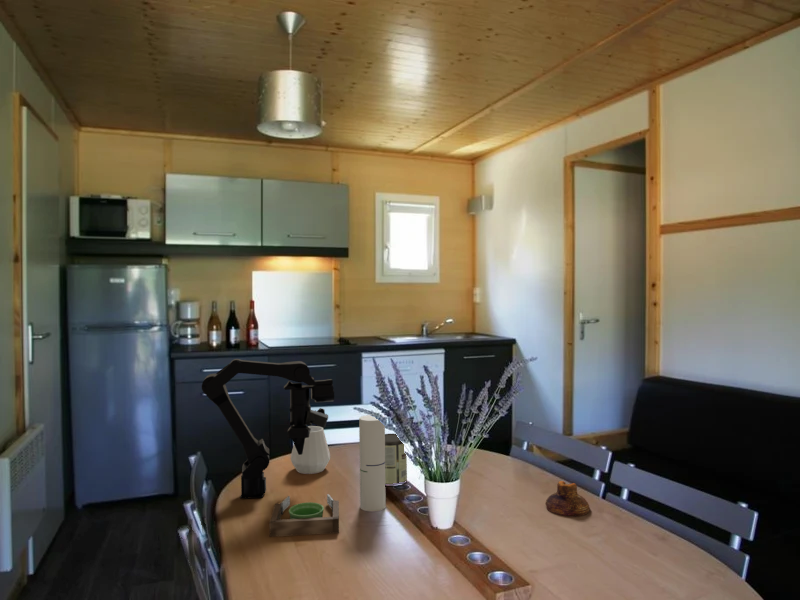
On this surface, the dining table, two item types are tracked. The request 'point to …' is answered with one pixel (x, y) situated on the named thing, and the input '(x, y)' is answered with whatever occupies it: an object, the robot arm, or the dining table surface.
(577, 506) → the brown rounded necked piece
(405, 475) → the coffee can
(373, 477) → the cylindrical container
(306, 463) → the cup
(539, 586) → the dining table surface
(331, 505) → the bar
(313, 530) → the walnut dock
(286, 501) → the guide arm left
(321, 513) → the ramekin
